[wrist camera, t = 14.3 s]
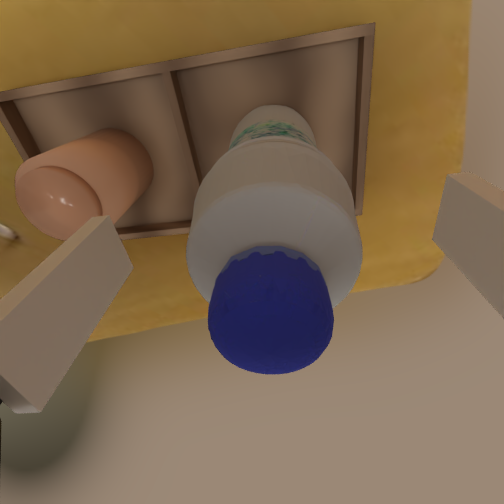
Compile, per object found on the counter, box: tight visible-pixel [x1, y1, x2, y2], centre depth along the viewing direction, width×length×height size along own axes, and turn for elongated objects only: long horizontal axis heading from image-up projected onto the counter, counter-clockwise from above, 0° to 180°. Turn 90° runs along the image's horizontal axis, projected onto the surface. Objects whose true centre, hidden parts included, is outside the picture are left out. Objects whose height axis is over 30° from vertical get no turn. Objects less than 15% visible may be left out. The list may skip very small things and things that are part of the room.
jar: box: [15, 128, 154, 241], centre depth 21 cm, size 6×6×9 cm
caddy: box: [0, 22, 375, 240], centre depth 24 cm, size 28×13×2 cm, turn 98°
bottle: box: [186, 105, 362, 374], centre depth 15 cm, size 7×7×20 cm
